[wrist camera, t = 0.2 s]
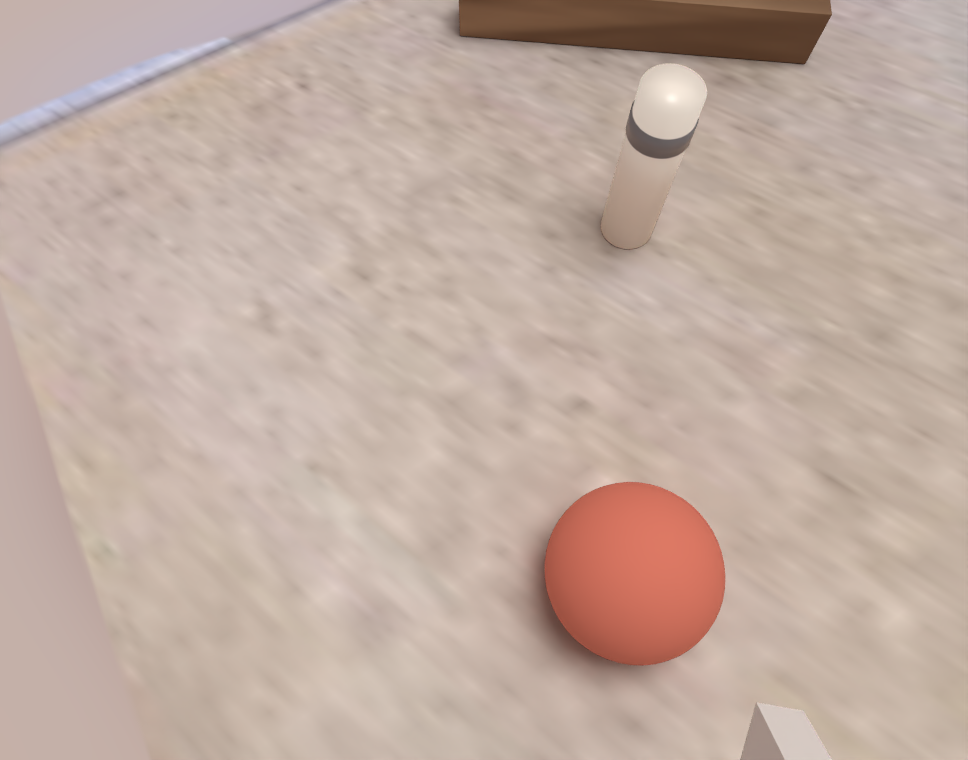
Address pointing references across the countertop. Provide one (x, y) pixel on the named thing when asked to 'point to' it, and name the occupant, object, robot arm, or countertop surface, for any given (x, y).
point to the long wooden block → (658, 25)
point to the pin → (652, 152)
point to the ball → (634, 573)
